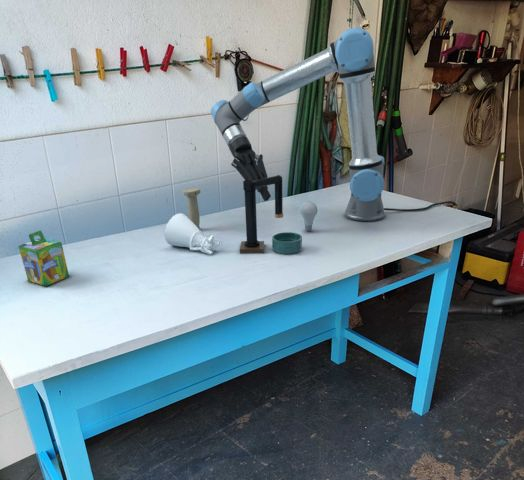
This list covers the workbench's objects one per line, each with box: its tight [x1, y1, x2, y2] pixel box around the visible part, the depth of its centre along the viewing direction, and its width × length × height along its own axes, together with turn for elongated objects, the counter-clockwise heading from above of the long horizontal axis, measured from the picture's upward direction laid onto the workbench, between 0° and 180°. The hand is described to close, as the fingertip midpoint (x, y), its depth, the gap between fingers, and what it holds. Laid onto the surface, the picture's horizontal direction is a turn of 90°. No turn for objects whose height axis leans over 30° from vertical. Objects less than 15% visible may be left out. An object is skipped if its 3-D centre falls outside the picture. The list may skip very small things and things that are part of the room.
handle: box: [182, 187, 201, 230], centre depth 196 cm, size 5×6×15 cm
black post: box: [239, 189, 265, 254], centre depth 175 cm, size 8×8×20 cm
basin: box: [271, 231, 303, 255], centre depth 177 cm, size 10×10×4 cm
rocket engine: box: [164, 212, 221, 256], centre depth 179 cm, size 12×12×18 cm
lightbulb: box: [300, 201, 318, 232], centre depth 192 cm, size 6×6×11 cm
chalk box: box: [17, 230, 70, 287], centre depth 158 cm, size 9×9×15 cm
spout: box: [242, 174, 284, 219], centre depth 175 cm, size 16×4×14 cm, turn 128°
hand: (267, 198), depth 183 cm, fingers closed
